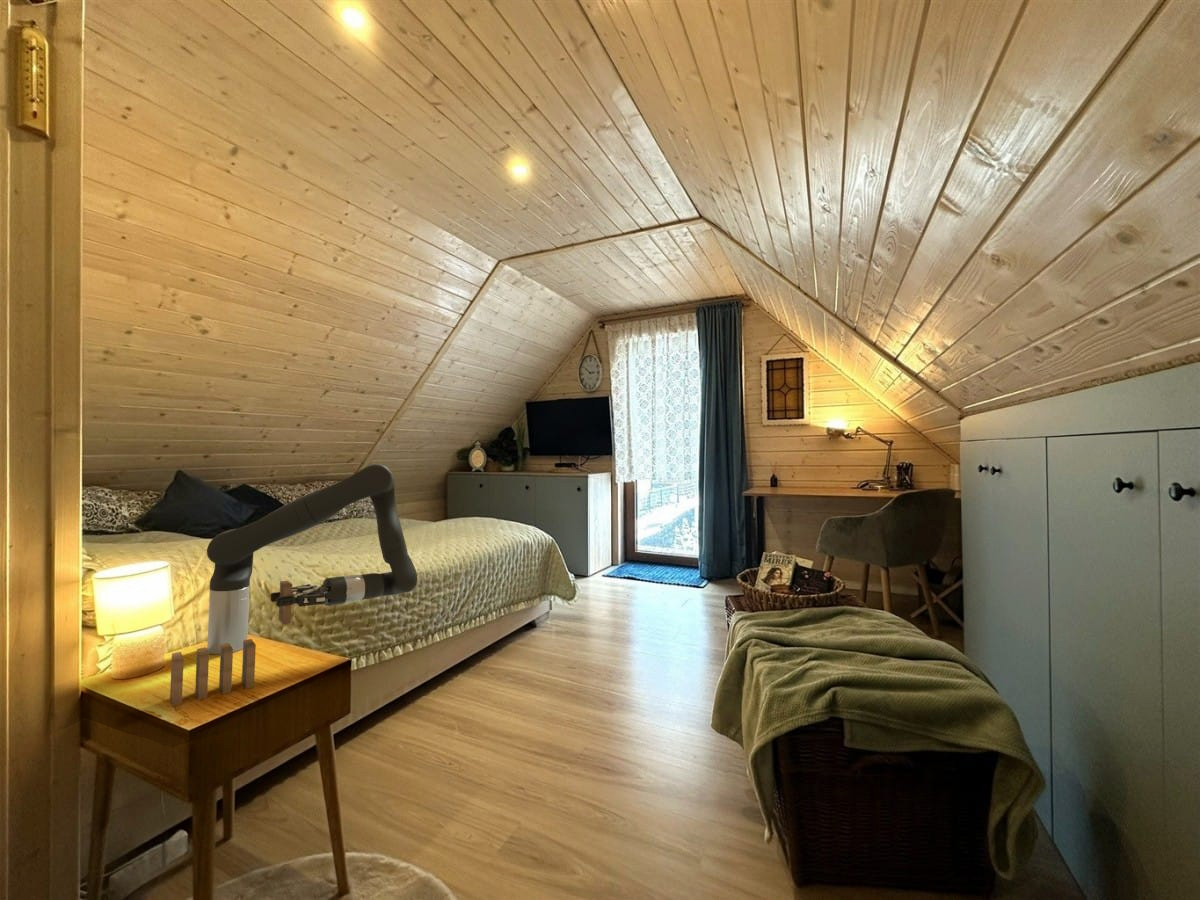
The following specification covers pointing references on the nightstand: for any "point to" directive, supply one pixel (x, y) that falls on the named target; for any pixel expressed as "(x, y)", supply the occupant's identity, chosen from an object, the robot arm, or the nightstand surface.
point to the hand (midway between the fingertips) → (274, 599)
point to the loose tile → (286, 610)
